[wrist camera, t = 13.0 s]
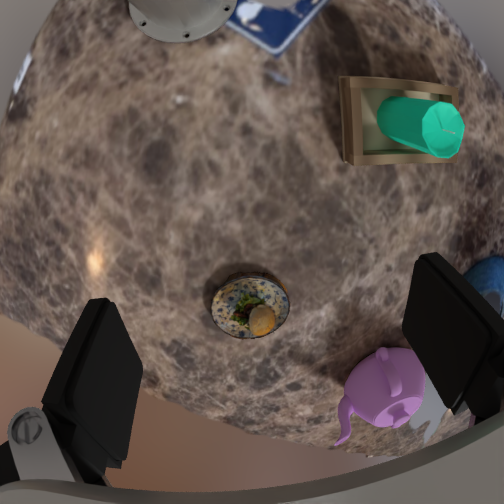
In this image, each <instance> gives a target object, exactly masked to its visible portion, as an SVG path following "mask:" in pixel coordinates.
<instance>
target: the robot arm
mask: <svg viewBox="0 0 504 504" xmlns="http://www.w3.org/2000/svg"><path fill="white" fill-rule="evenodd" d="M127 1H129V11H130V16H131V18H132V20H133V22H134V24H135V25H136V26H137V27H138V29H139V30H141V31H142V32H143V33H144V34H146V35H147V36H149V37H151V38H153V39H155V40H158V41H161V42H167V43H186V42H192V41H195V40H199V39H202V38H204V37H206V36H208V35H210V34H212V33H213V32H215V31H216V30H218V29H219V28H220V27H221V26H222V25H223V24H225V23H226V22H227V20H228V19H229V18H230V16H231V15H232V13H233V11H234V9H235V7H236V4H237V0H127ZM226 8H228V9H229V10H228V11H225V9H226ZM144 23H146V25H145V26H143V24H144ZM187 34H189V37H188V38H186V37H185V36H186V35H187ZM402 331H403V334H404V336H405V337H406V339H407V341H408V342H409V344H410V346H411V347H412V349H413V351H414V352H415V354H416V356H417V357H418V359H419V361H420V362H421V364H422V366H423V367H424V369H425V371H426V373H427V374H428V376H429V378H430V380H431V381H432V383H433V385H434V387H435V388H436V390H437V392H438V394H439V396H440V398H441V399H442V401H443V403H444V405H445V406H446V407H447V408H449V409H451V411H452V413H453V415H457V414H459V413H461V412H463V411H465V410H467V409H468V407H469V409H470V411H471V416H470V421H469V426H468V429H466V430H464V431H462V432H460V433H458V434H456V435H454V436H452V437H449V438H447V439H445V440H443V441H440V442H438V443H436V444H433V445H431V446H428V447H426V448H423V449H421V450H418V451H416V452H413V453H410V454H408V455H405V456H402V457H399V458H396V459H393V460H390V461H387V462H384V463H381V464H378V465H374V466H371V467H368V468H365V469H361V470H357V471H353V472H349V473H346V474H342V475H338V476H333V477H328V478H324V479H319V480H314V481H309V482H303V483H297V484H291V485H284V486H277V487H270V488H261V489H251V490H239V491H224V492H162V491H147V490H134V489H123V488H114V487H112V485H111V484H110V482H109V481H108V479H107V478H106V476H105V470H106V467H109V468H119V469H121V465H122V460H126V458H127V454H128V448H129V442H130V436H131V430H132V424H133V419H134V413H135V408H136V403H137V398H138V393H139V388H140V383H141V378H142V374H143V365H142V362H141V360H140V358H139V356H138V353H137V351H136V349H135V347H134V345H133V343H132V341H131V339H130V337H129V334H128V332H127V330H126V328H125V325H124V323H123V321H122V319H121V316H120V314H119V312H118V309H117V307H116V305H115V303H114V302H110V300H109V299H108V298H98V299H90V300H89V301H88V303H87V304H86V306H85V308H84V310H83V312H82V314H81V316H80V318H79V320H78V322H77V324H76V326H75V328H74V330H73V332H72V334H71V336H70V338H69V340H68V342H67V344H66V346H65V348H64V350H63V352H62V355H61V357H60V359H59V361H58V363H57V366H56V368H55V370H54V372H53V375H52V377H51V379H50V382H49V384H48V386H47V389H46V391H45V393H44V396H43V398H42V401H41V402H42V404H43V408H42V410H40V409H39V408H36V407H27V408H24V409H22V410H20V411H19V412H18V413H16V414H15V415H14V417H13V418H12V419H11V421H10V423H9V425H8V431H7V434H8V441H6V442H5V443H3V444H2V445H0V504H504V320H503V318H502V317H501V316H500V315H499V314H498V313H497V312H496V311H495V310H494V308H493V307H492V306H491V305H490V304H489V303H488V302H487V301H486V300H485V299H484V298H483V297H482V296H481V295H480V294H479V293H478V291H477V290H476V289H475V288H474V287H473V286H472V285H471V284H470V283H469V282H468V281H467V280H466V279H465V278H464V277H463V276H462V275H461V274H460V273H459V272H458V271H457V270H456V269H455V268H454V267H453V266H451V265H450V264H449V263H448V262H447V261H446V260H445V259H444V258H443V257H442V256H441V255H440V254H439V253H437V252H433V253H427V254H422V255H420V256H419V258H418V260H416V262H415V264H414V269H413V275H412V280H411V285H410V291H409V295H408V300H407V305H406V309H405V314H404V318H403V322H402Z"/></svg>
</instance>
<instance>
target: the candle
mask: <svg viewBox="0 0 504 504" xmlns="http://www.w3.org/2000/svg"><path fill="white" fill-rule="evenodd" d="M377 124H378V126H379V128H380V130H381V132H382V133H383V134H384V135H385V136H387V137H388V138H389V139H391V140H394V141H396V142H399V143H402V144H405V145H407V146H410V147H413V148H415V149H418V150H420V151H423V152H425V153H428V154H430V155H433V156H435V157H438V158H450V157H452V156H453V155H454V154H456V153H457V152H458V150H459V147H460V144H461V141H462V138H463V133H464V128H465V125H464V123H463V121H462V118H461V116H460V114H459V112H458V111H457V110H456V108H455V107H454V106H453V105H452V104H450V103H445V102H440V101H433V100H425V99H417V98H408V97H398V96H391V97H389V98H387V99H385V100H383V101H382V103H381V104H380V106H379V108H378V110H377Z"/></svg>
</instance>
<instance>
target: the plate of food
mask: <svg viewBox="0 0 504 504" xmlns="http://www.w3.org/2000/svg"><path fill="white" fill-rule="evenodd" d="M257 273H258V272H255V273H254V272H253V273H243V274H242V273H241V272H239V273H235V274H232V275H231V276H229V278H228V280H227V282H226V283H224V284H223V285H222V286H220V287H219V288H218V289H217V290H216V292H215V295H214V297H213V299H212V301H211V315H212V319H213V321H214V323H215V324H216V325H217V326H218V327H219V328H220V329H221V330H223V331H224V332H225V333H227V334H229V335H230V336H232V337H234V338H238V339H247V338H251V339H255V338H261V337H264V336H266V335H268V334H270V333H272V332H273V333H274V331H275V330H277V329H278V328H279V327H280V326H281V325H282V324H283V323H284V322H285V320H286V318H287V316H288V314H289V311H290V301H289V298H288V295H287V294H286V292H285V290H286V288H285V286H284V285H283V284H282V283H281V281H280V280H278V279H277V278H275V277H274V276H272V275H270V274H268V273H266V274H265V273H261V274H259V273H260V272H259V273H258V274H257ZM265 275H266V276H265ZM268 275H269V276H268ZM284 289H285V290H284ZM286 291H287V290H286ZM274 334H275V333H274Z"/></svg>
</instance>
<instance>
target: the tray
mask: <svg viewBox="0 0 504 504" xmlns="http://www.w3.org/2000/svg"><path fill="white" fill-rule="evenodd" d="M338 83H339V95H340V110H341V127H342V151H343V162H345V163H350V164H351V165H353V166H362V165H381V164H406V163H457V154H458V152H457V153H456V154H454V155H453V156H452V157H450V158H438V157H435V156H433V155H430V154H428V153H425V152H423V151H420V150H418V149H415V148H413V147H410V146H407V145H405V144H402V143H399V142H396V141H394V140H391V139H389V138H388V137H387V136H385V135H384V134H383V133H382V132H381V130H380V128H379V126H378V124H377V110H378V108H379V106H380V104H381V103H382V101H383V100H385V99H387V98H389V97H391V96H398V97H408V98H417V99H425V100H433V101H440V102H445V103H450V104H452V105H453V106H454V107H455V108H456V110H457V111H458V112H459V103H458V88H456V87H450V86H445V84H438V83H431V82H423V81H415V80H406V79H395V78H382V77H365V76H338Z"/></svg>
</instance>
